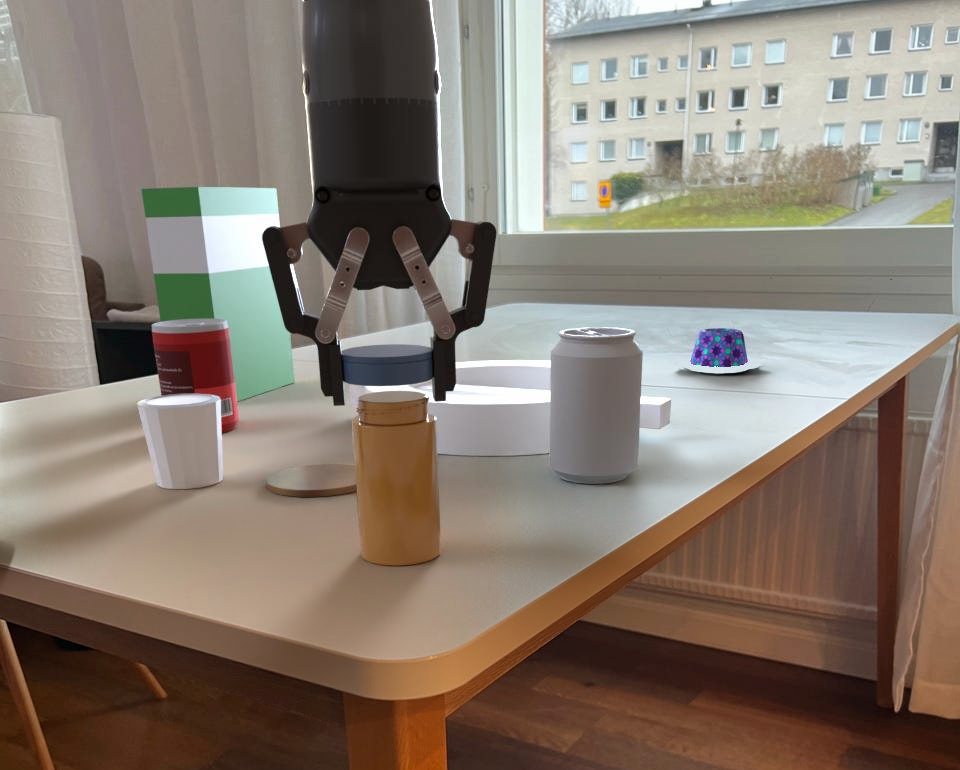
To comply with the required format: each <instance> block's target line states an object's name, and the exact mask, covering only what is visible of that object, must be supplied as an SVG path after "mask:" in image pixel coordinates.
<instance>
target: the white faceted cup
mask: <svg viewBox="0 0 960 770" xmlns="http://www.w3.org/2000/svg"><path fill="white" fill-rule="evenodd" d="M136 405H137V410H138V413H139V418H140V422H141V426H142V429H143V434H144V438H145V441H146V446H147V449H148V455H149V458H150V461H151V465H152V470H153V474H154V477H155V482H156V485H157V487H160V488H162V489H167V490H168V489H169V490H189V489H200V488H206V487H210V486H212V485H216V484H219V483H220V482H221V481H223V480H224V463H223V462H224V461H223V460H224V459H223V458H224V457H223V433H222V427H221V399H220V397H219V396H215V395H210V394H196V393H192V394H171V395H164V396H161V395H157V396H153V397H149V398H148V397H147V398H144V399H142V400H140V401H138V402H136Z"/></svg>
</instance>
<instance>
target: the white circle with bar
mask: <svg viewBox="0 0 960 770" xmlns="http://www.w3.org/2000/svg"><path fill="white" fill-rule="evenodd" d="M550 373H551V360H535V359H533V360H531V359H528V360H527V359H502V360H501V359H499V360H498V359H497V360H495V359H494V360H472V361H471V360H470V361H469V360H468V361H456V385H455V388H454V390H453V391H446V401H434V399H433V392H432V379H431V380H429V381H426V382H422V383H417V384H409V385H399V386H361V385H353V384H349V383H348V394H349V406H350V407H356V408H358V397H360V396H362V395H365V394H369V393H374V392H383V391H414V392H420V393H424V394H426V395H428V397H429V402H428V414H431V415H434V416H435V417H436V432H437V455H449V456H450V455H451V456H467V457H468V456H469V457H470V456H472V457H508V456H510V457H511V456H530V455H543V454H550ZM671 409H672V398H667V397H652V396H641V405H640V427H639V429H649V430H661V429H663V428H665V426H667V425H669V424H670V423H671Z"/></svg>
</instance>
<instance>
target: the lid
mask: <svg viewBox="0 0 960 770" xmlns="http://www.w3.org/2000/svg"><path fill="white" fill-rule="evenodd" d="M341 359H342V373H343V381H344V383H346V384H348V385H349V384H353V385H361V386H399V385H409V384H417V383H422V382H426V381H429V380H431V379H433V378H434V370H433V350H432V348H431V346H427V345H419V344H400V343H399V344H394V343H393V344H391V343H389V344H372V345H360V346H354V347H350V348H345V349H341Z"/></svg>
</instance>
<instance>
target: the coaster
mask: <svg viewBox="0 0 960 770" xmlns="http://www.w3.org/2000/svg"><path fill="white" fill-rule="evenodd" d="M265 485H266V489H267V490H268V491H269V492H270V493H273V494H277V495H281V496H287V497H294V498H295V497H296V498H318V497H319V498H322V497H332V496H339V495H344V494H350V493H354V492H356V479H355V466H354V464H347V463H315V464H306V465H305V464H304V465H298V466H292V467H288V468H284V469H281V470H278V471H275V472H273V473H271V474H269V475H268V476H267V477H266V478H265Z"/></svg>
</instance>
